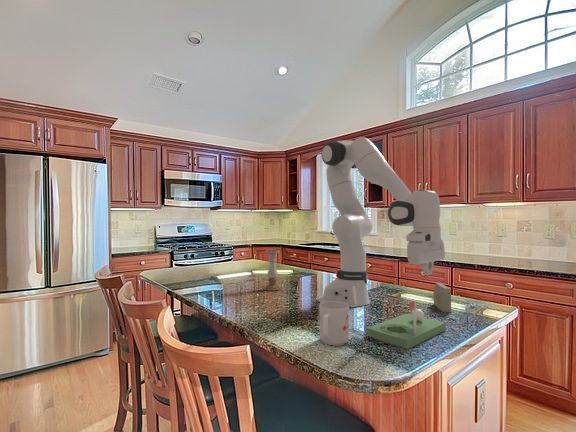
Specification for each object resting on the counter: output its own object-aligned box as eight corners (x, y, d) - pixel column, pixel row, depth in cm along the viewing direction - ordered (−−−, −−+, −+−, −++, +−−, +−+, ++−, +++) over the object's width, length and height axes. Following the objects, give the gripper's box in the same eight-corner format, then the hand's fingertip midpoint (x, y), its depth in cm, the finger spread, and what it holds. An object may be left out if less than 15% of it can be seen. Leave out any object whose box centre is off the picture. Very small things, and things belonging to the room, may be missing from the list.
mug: (325, 334, 106) (325, 299, 106) (352, 339, 101) (352, 303, 101) (310, 347, 95) (310, 308, 95) (339, 353, 91) (339, 313, 91)
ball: (412, 322, 110) (412, 310, 110) (411, 318, 113) (411, 307, 113) (425, 323, 109) (424, 311, 109) (423, 319, 112) (423, 307, 112)
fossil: (452, 312, 129) (452, 288, 130) (442, 312, 130) (442, 288, 130) (441, 304, 141) (441, 282, 141) (433, 304, 142) (433, 282, 142)
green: (406, 320, 120) (406, 286, 120) (445, 330, 109) (445, 292, 109) (366, 335, 104) (366, 296, 104) (407, 349, 93) (407, 305, 93)
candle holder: (262, 291, 168) (262, 251, 169) (266, 287, 177) (266, 249, 177) (279, 291, 167) (279, 251, 167) (282, 287, 176) (282, 250, 176)
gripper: (432, 234, 125) (432, 270, 124) (403, 236, 111) (404, 277, 111) (449, 234, 120) (449, 272, 120) (421, 236, 106) (421, 279, 106)
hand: (427, 274), depth 115 cm, fingers closed
